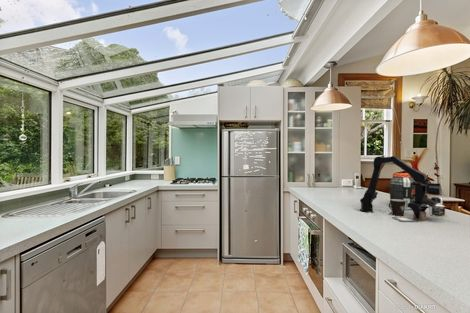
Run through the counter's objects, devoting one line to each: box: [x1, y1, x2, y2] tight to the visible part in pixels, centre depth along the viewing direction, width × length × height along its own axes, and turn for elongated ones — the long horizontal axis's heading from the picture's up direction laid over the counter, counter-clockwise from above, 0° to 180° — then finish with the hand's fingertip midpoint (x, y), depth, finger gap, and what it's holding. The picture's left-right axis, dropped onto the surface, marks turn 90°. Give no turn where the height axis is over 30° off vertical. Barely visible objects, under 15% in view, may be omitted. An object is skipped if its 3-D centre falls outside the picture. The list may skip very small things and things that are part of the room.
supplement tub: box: [389, 172, 415, 211], centre depth 200 cm, size 16×16×26 cm
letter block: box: [412, 211, 427, 222], centre depth 165 cm, size 5×5×5 cm
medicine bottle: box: [428, 196, 446, 218], centre depth 177 cm, size 7×7×12 cm
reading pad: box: [391, 216, 419, 223], centre depth 165 cm, size 10×10×1 cm
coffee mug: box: [388, 199, 406, 217], centre depth 178 cm, size 12×9×10 cm
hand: (419, 218), depth 165 cm, fingers closed on letter block, 5 cm apart
